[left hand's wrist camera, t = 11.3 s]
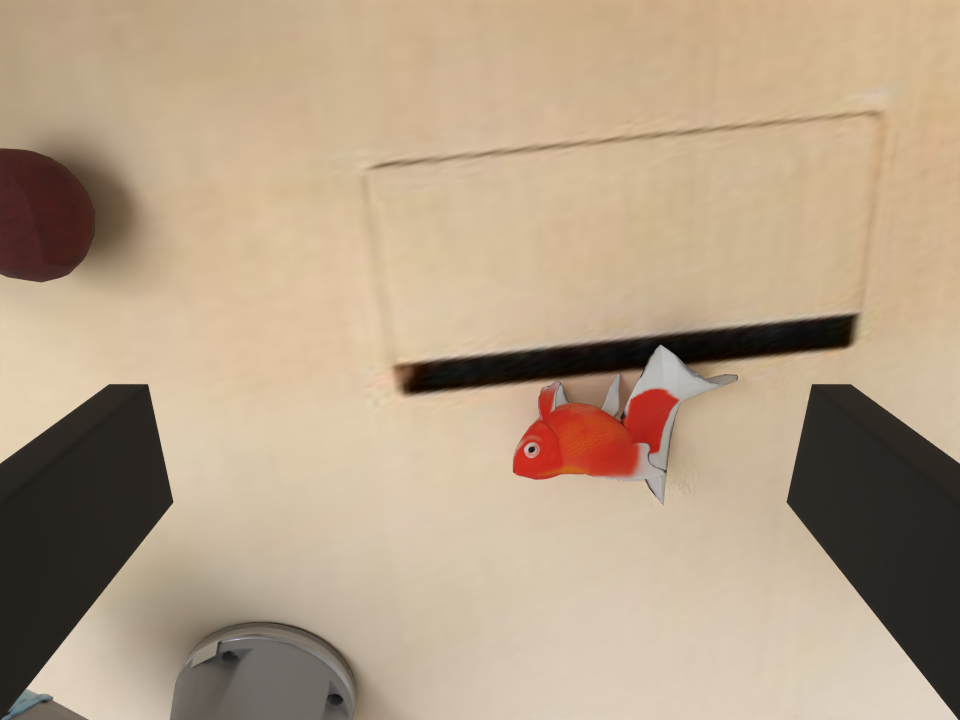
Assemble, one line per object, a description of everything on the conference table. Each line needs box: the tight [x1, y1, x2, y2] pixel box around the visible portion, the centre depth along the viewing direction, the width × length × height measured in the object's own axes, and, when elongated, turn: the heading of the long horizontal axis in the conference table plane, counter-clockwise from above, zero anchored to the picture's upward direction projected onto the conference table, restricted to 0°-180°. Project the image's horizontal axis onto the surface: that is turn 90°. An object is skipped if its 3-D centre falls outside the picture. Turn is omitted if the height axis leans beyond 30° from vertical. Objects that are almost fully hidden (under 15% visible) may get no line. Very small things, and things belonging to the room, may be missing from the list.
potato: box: [0, 148, 95, 282], centre depth 36 cm, size 7×8×7 cm
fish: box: [513, 345, 738, 505], centre depth 41 cm, size 11×16×10 cm
